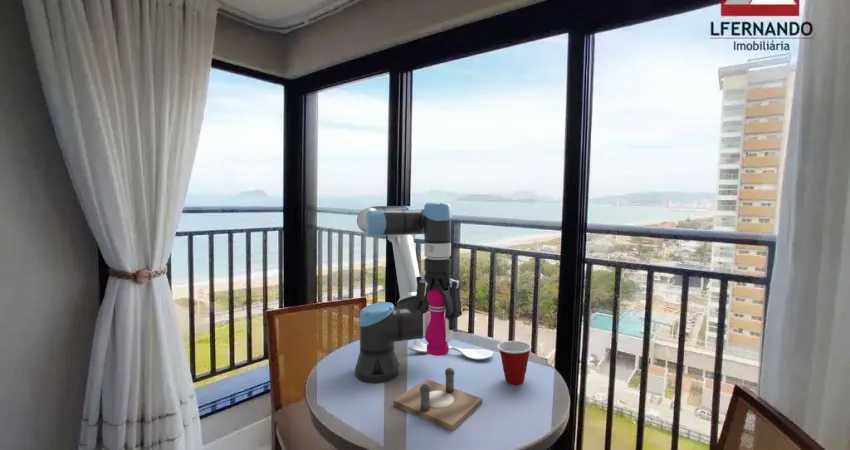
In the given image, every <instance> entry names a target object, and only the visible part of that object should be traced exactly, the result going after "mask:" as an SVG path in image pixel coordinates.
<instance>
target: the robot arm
mask: <svg viewBox="0 0 850 450" xmlns="http://www.w3.org/2000/svg"><path fill="white" fill-rule="evenodd" d="M451 208H452V207H451V205H450V203H448V202H428V203H425V204H424V207H423V208H422V209H416V208H414V207H413V206H411V205H409V206H408V205H401V206H400V205H399V206H398V205H389V206H388V205H383V206H382V205H377V206H371V207H370V206H369V207H367V208H364V209H362V210H361V211H360V212H359V213H358V215H357V218H356V224H357V226H358V228H359V229H360V231H362V232H363V233H364V234H365V233H366V234H367V235H369V236H375V237H377V236H378V237H381V236H387V240H388V241H389V242H390V243H391V245H392V250H393V258H394V264H395V271H396V278H397V286H398V293H399V298H398V301H397V302H396V306H395V305H394V304H393V302H389V301H386V302H385V301H384V302H383V301H382V302H375V303H372V304H368V305H367V306H365V307H363V308H362V309H361V310H360V313H359V322H358V325H359V354H358V357H357V362H356V365H355V366H354V367H355V368H354V376H355V378H356V379H357V380H358V381H360V382H364V383H369V384H380V383H381V384H382V383H385V382H389V381H392V380H393V379H396V378H397V377H398V376H399V375H400V371H401V370H400V368H401V367H400V362H399V361H398V357H397V354H396V351H395V343H396V342H403V341H411V340H412V341H414V340H415V339H416V340H422V339H425V333H426V330H427V327H428V325H429V323H430V319H431V312H430V310H429V304H430V303H429V301H428V300H427V294H428V292H429V291H430V290H431V289H438V290H439V293H440V294H441V295H443V298H444V301H443V302H444V305H445V309H446V310H445V313H446V315H447V317H445V321H446V342H448V343H449V342H451V341H453V340H454V330H456V319H457V318H458V317H461V316H462V315H463V312H462V311H463V310H462V302H461V301H462V300H461V292H460V291H461V290H460V288H461V280H459V279H456V280H455V279H453V278H452V275H451V272H452V258H450V257H451V256H452V243H451V242H452V217H453V216H452V209H451ZM417 235H424V236H423V237H424V238H423V242H424V244H423V246H424V247H423V248H424V249H423V250H424V254H423V255H424V257H425V258H424V260H423V261H424V264H423V265H424V272H425V274H423V275H421V274H420V268H419V263H418V257H417V252H416V247H415V240H414V239H415V238H416V236H417ZM450 288H451V289H450ZM444 290H446V291H444ZM450 293H451V294H450Z"/></svg>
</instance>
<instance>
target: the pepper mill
mask: <svg viewBox="0 0 850 450" xmlns="http://www.w3.org/2000/svg"><path fill="white" fill-rule="evenodd" d="M444 291H446V290H444ZM427 300H428V301H429V303H430V304H429V310H430V312H431V319H430V323H429V325H428V327H427V330H426V333H425V338H424V339H425V341H426V342H427V344H426V345H427V352H426V353H427V354H428V355H431V356H436V357H437V356H441V357H442V356H446V355H447V354H448V353H449V351H450V350H449V344H448V343H449V342H446V315H445V313H446V309H445V305H444V302H443V301H444V298H443V295H441V294H440V293H439V290H438V289H431V290H430V291H429V292H428V294H427Z"/></svg>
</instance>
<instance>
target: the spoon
mask: <svg viewBox="0 0 850 450" xmlns="http://www.w3.org/2000/svg"><path fill="white" fill-rule="evenodd" d="M413 341H414V342H413V345H412V346H411V345H410V346H408V347H407V349H408V350H410V351H414V352H419V353H428V352H427V344H426V343H424V342H422V341H420V339H414V340H413ZM448 345H449V344H448ZM450 350H454V351H457V352H459V353H460V354H461V355H463V356H465V357H467V358H469V359H470V360H471V359H472V360H475V361H476V360H477V361H480V360H481V361H482V360H486V359H490V358H491V357H492V358H493V356H494V351H492V350H489V349H475V348H460V347H456V346H452V345H451V344H450V345H449V351H450Z"/></svg>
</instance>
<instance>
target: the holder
mask: <svg viewBox="0 0 850 450" xmlns="http://www.w3.org/2000/svg"><path fill="white" fill-rule="evenodd" d="M444 374H445V384H442V383H439V382H436V381H434V380H431V379H427V378H426V379H424V380H422V381H421V382H419V383H418V384H417V385H415V386H414V387H412V388H410V389H409V390H408V391H407V390H406V391H405V392H404V393H402V394H401V395H400V396H398V397H397V398H395V399H393V402H392V403H393V406H394V407H396V408H398V409H400V410H403V411H405V412H408V413H409V414H412V415H414V416H416V417H419V418H421V419H424V420H426V421H428V422H431V423H433V424H435V425H438V426H440V427H442V428H444V429H447V430H449V431H451V432H453V431H455V430H456V429H457V428H458V427H459V426H460V425H461V424H462V423H463V422H464V421H466V419H467V418H468V417H470V416H471V415H472V414H473V413H474V412H475V411H476V410H477V409H478V408H479V407H480V406H482V404H483V398H482V397H479V396H478V395H477V396H476V395H474V394H471V393H468V392H466V391H463V390H460V389H457V388H454V387H455V382H454V381H455V379H454V378H455V370H454V369H453V368H451V367H447V368H446V369H445V371H444Z"/></svg>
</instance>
